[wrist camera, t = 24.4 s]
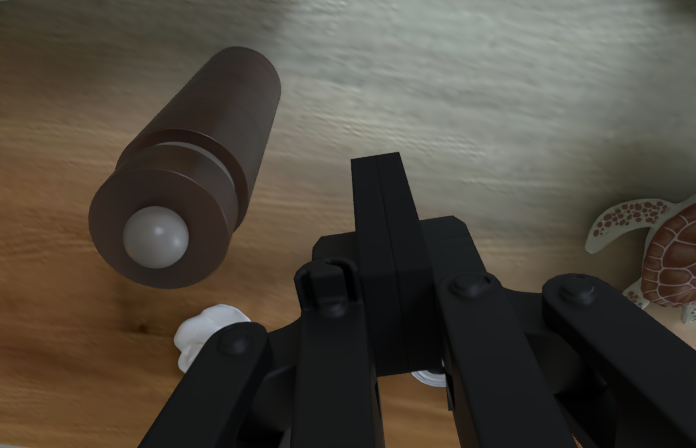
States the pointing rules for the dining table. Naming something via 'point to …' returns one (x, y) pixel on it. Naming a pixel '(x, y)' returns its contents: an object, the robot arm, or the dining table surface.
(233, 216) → the pepper mill
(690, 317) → the decorative turtle
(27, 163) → the dining table surface
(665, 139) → the dining table surface
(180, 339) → the rose
